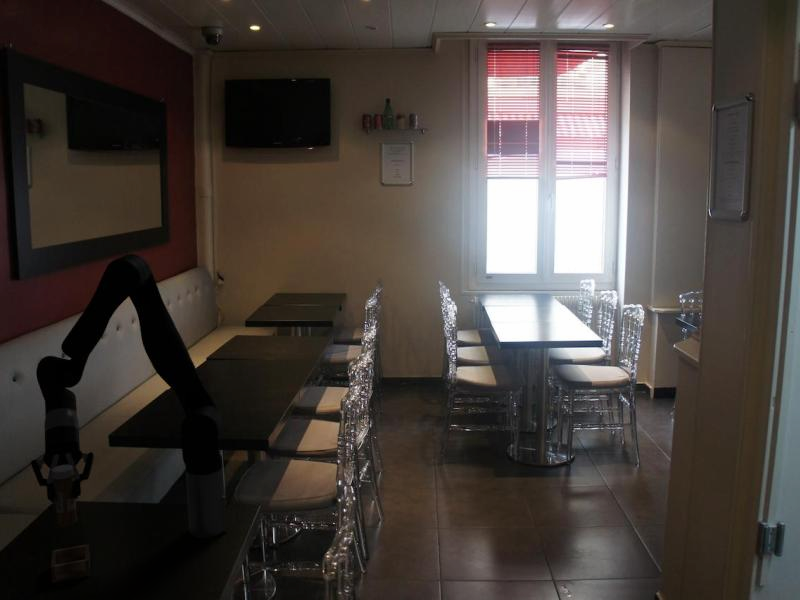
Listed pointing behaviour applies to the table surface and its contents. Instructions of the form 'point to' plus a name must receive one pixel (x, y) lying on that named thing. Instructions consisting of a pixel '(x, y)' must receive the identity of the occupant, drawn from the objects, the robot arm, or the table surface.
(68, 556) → the oak socket block
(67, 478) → the sprinkles bottle
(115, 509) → the table surface
